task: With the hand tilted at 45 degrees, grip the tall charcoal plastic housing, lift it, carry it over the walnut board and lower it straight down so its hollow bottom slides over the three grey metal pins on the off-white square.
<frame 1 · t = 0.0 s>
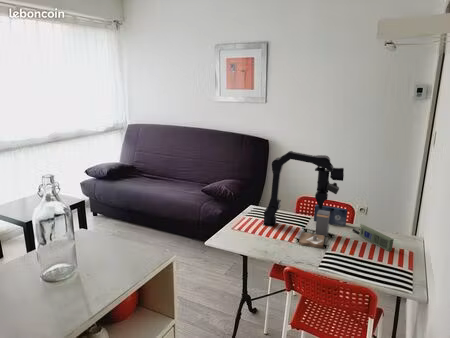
hand: (321, 206, 188), 15 cm above the table, tool pointing down, fingers open, 9 cm apart
vhs cassette tape: (329, 223, 202), on the table
handheld radio: (370, 241, 180), on the table
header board: (311, 241, 178), on the table
housing: (321, 233, 188), on the table
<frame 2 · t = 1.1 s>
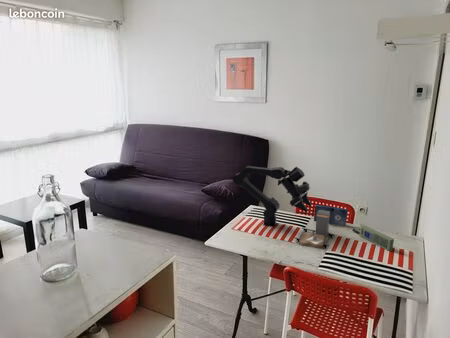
hand: (308, 208, 188), 13 cm above the table, tool tilted 45°, fingers open, 9 cm apart
nothing on the table moved.
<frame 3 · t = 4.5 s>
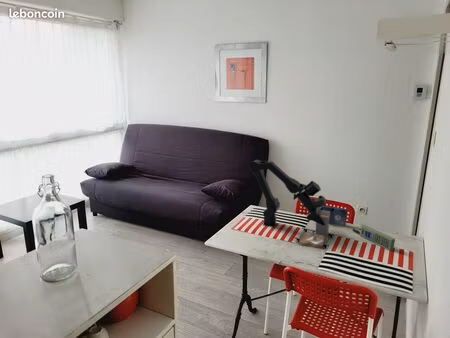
hand: (325, 222, 185), 7 cm above the table, tool tilted 45°, fingers closed on housing, 6 cm apart
housing: (321, 233, 188), on the table, touching gripper
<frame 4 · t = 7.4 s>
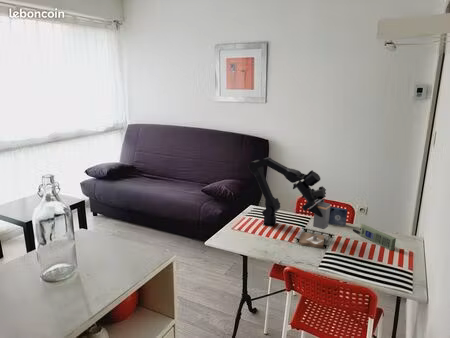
hand: (324, 215, 178), 14 cm above the table, tool tilted 45°, fingers closed on housing, 6 cm apart
housing: (320, 226, 181), point 7 cm above the table, touching gripper
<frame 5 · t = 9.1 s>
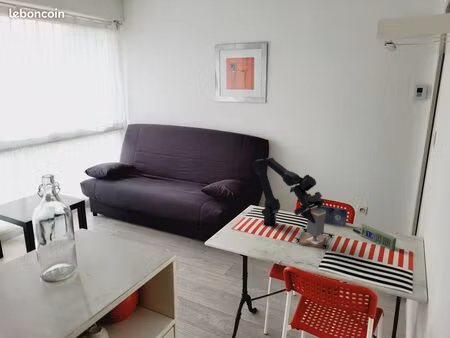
hand: (318, 221, 173), 12 cm above the table, tool tilted 45°, fingers closed on housing, 6 cm apart
housing: (314, 232, 175), point 6 cm above the table, touching gripper
when the fingers open (9 cm above the table, at t = 10.3 s): housing stays where it is, resting on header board.
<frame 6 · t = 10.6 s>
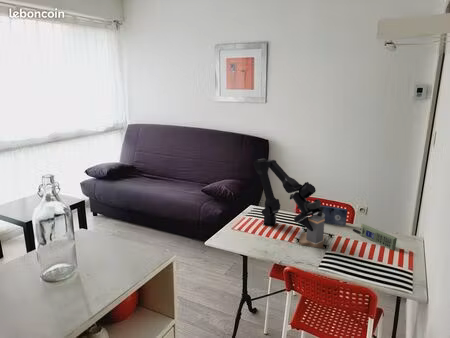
hand: (317, 228, 173), 9 cm above the table, tool tilted 45°, fingers open, 9 cm apart
housing: (314, 240, 176), point 2 cm above the table, touching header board
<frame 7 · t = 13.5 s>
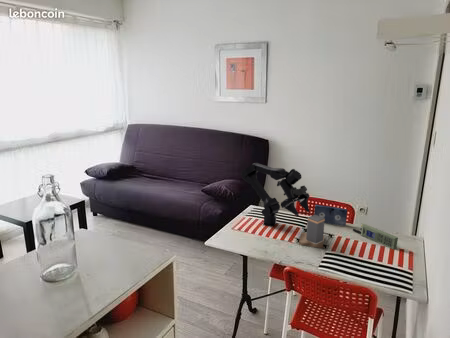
hand: (303, 213, 179), 14 cm above the table, tool tilted 45°, fingers open, 9 cm apart
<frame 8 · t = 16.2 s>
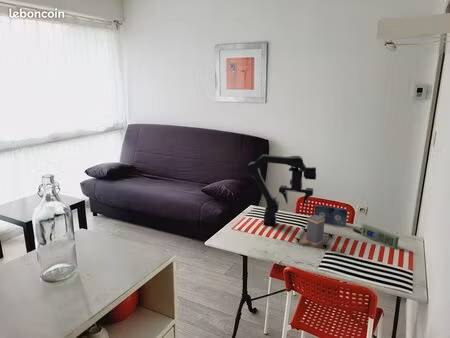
hand: (295, 204, 194), 13 cm above the table, tool pointing down, fingers open, 9 cm apart
at the end: housing 0.1 cm from the target spot, point 1.6 cm above the table; housing tilted 0°; the gripper is holding nothing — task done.
